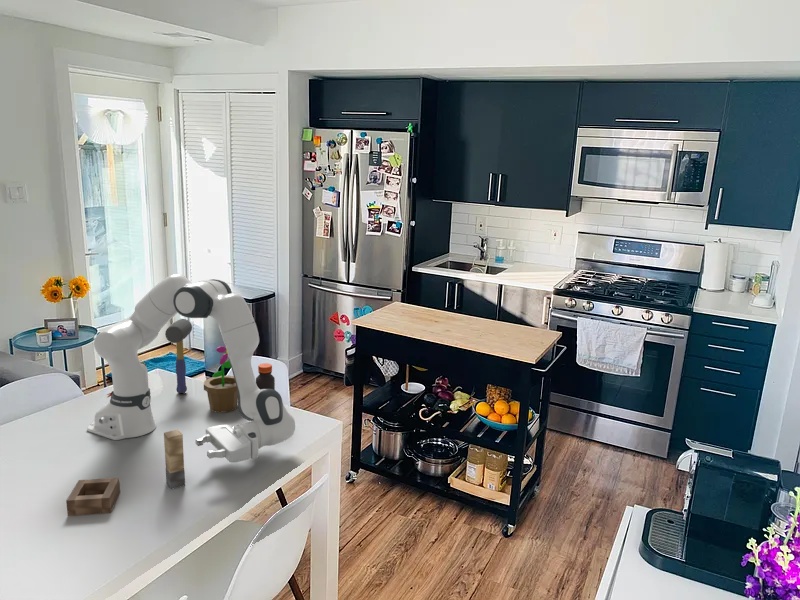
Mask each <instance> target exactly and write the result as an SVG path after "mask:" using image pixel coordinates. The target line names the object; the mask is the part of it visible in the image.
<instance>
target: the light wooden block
mask: <svg viewBox="0 0 800 600" xmlns="http://www.w3.org/2000/svg"><path fill="white" fill-rule="evenodd" d="M163 441H164V460H165V481H166V482H165V483H166V485H167V487H168V488H169V489H170V490H173V488H174V489H177V488H180V486H181V487H184V486H186V477H185V476H186V475H185V474H186V473H185V471H186V470H185V460H184V459H185V458H184V457H185V456H184V454H185V453H184V437H183V433H182V432H181V431H180V430H179V429H173V430H169V431H165V432H163ZM183 485H184V486H183Z"/></svg>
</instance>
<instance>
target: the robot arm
mask: <svg viewBox="0 0 800 600" xmlns="http://www.w3.org/2000/svg"><path fill="white" fill-rule="evenodd" d="M177 314H179V315H180V316H182V317H184V318H190V319H207V318H209V317H211V318H213V319H214V320H215V321H216V323H217V325H218V329H219V333H221V337H222V340H223V343H224V347H225V348H226V349H227V352H228V360H230V364H231V367H230V369H231V371H232V376H234V379H235V383H236V386H237V390H238V404H237V408H238V413H239V414H240V415H241V417H242V418H243V419H245V420H246V421H247V422H244V423H239V424H237V425H236V427H235V426H233V425H230V424H227V423H226V424H225V423H224V424H216V425H212V426H209V427H207V428H206V429H205V434H204V435H203V436H201V437H200V438H195V442H194V443H195V445H196V446H197V447H201V446H203V445H204V444H205V443H207V444H208V443H210V444H211V445H212V446H213V447H214V448H215V449H216V450H213V449H212V450H208V451H207V452H206V456H207V458H208V460H209V459H211V460H212V459H216V458H218V459H223V458H225V459H226V460H227V461H228V462H229V463H233V464H235V463H239V462H243V461H246V460H250V459H257V458H258V457H259V449H261V448H263V447H268V446H275V445H278V444H281V443H283V442H286V441H287V440H289V439H290V438H292V437H293V435H294V434H295V430H296V422H295V418H294V416H293V415H292V414H290V413H289V411H288V410H287V408H286V407H285V405H284V402H283V397H282V395H281V394H280V393H279V392H278V391H277V390H276V389H275V390H273V389H261V390H260V389H259V388H258V386H257V384H256V378H255V374H254V370H253V367H252V356H253V355H254V353H255V351H256V350H257V348H258V345H259V344H260V336H259V330H258V326H257V323H256V322H255V318H254V317H253V316H254V315H253V314H252V311H251V309H250V306H248V303H247V302H246V300H245V299H244V296H242V295H241V294H239V293H235V292H234V293H233V292H232V288H231V287H230V285H229V284H228V283H227V282H225V281H223V280H220V279H206V280H200V281H196V282H191V280H190V279H188V278H187V277H186V276H184V275H183V274H179V273H174V274H173V273H172V274H170V275H168V276H167V277H165V278H164V279H162V280H161V281H159V282H158V283H157V284H156V285H154V287H152V288H151V289H150V290H149V292H147V294H145V295H144V296H143V297H142V298H141V299H140V300H139V301H138V302H137V303H136V304H135V307H134V311H133V312H132V314H131V315H130V316H128V317H127V318H126V319H124V320H122V321H120V322H117V323H115V324H112V325H110V326H107V327H105V328H104V329H103V330H102V331H100V332H99V333H98V334H97V335H95V338H94V341H93V347H94V351H95V352H96V354H97V355H98V356H99V357H100V358H101V359H104V360H105V361H106V362H107V364H108V366H109V369H110V372H111V378H112V388H113V389H112V391H111V392H109V393H108V394H106V398H110V399H109V401H108V402H107V403H106V404H104V405H102V406H101V407H99V409H98V410H97V411H96V412H95V415H94V419H93V420H94V421H92V423H90V424H89V425H87V428H86V429H87V432H89V433H92V434H95V435H98V436H102V437H103V438H108V439H110V440H111V441H119V440H125V439H128V438H130V439H131V438H136V437H140V436H144V435H147V434H149V433H151V432H152V431H154V430H156V428H157V423H156V422H155V419H154V416H153V412H152V406H151V398H152V397H151V396H152V395H151V396H150V394H151V389H150V388H149V374H148V373H149V372H148V367H147V365H146V366H145V365H144V364H142V363H143V362H141V361H140V359H139V356H138V353H139V350H142V349H143V348H146V347H147V346H149V345H151V343H153V342H154V341H155V340H156V338H157V337H158V335H159V333H160V332H161V330H162V328H163V327H165V325H166V324H167V323H168V322H169V321H170V320H172V318H174V317H175V316H176V315H177ZM248 421H249V422H248Z"/></svg>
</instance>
